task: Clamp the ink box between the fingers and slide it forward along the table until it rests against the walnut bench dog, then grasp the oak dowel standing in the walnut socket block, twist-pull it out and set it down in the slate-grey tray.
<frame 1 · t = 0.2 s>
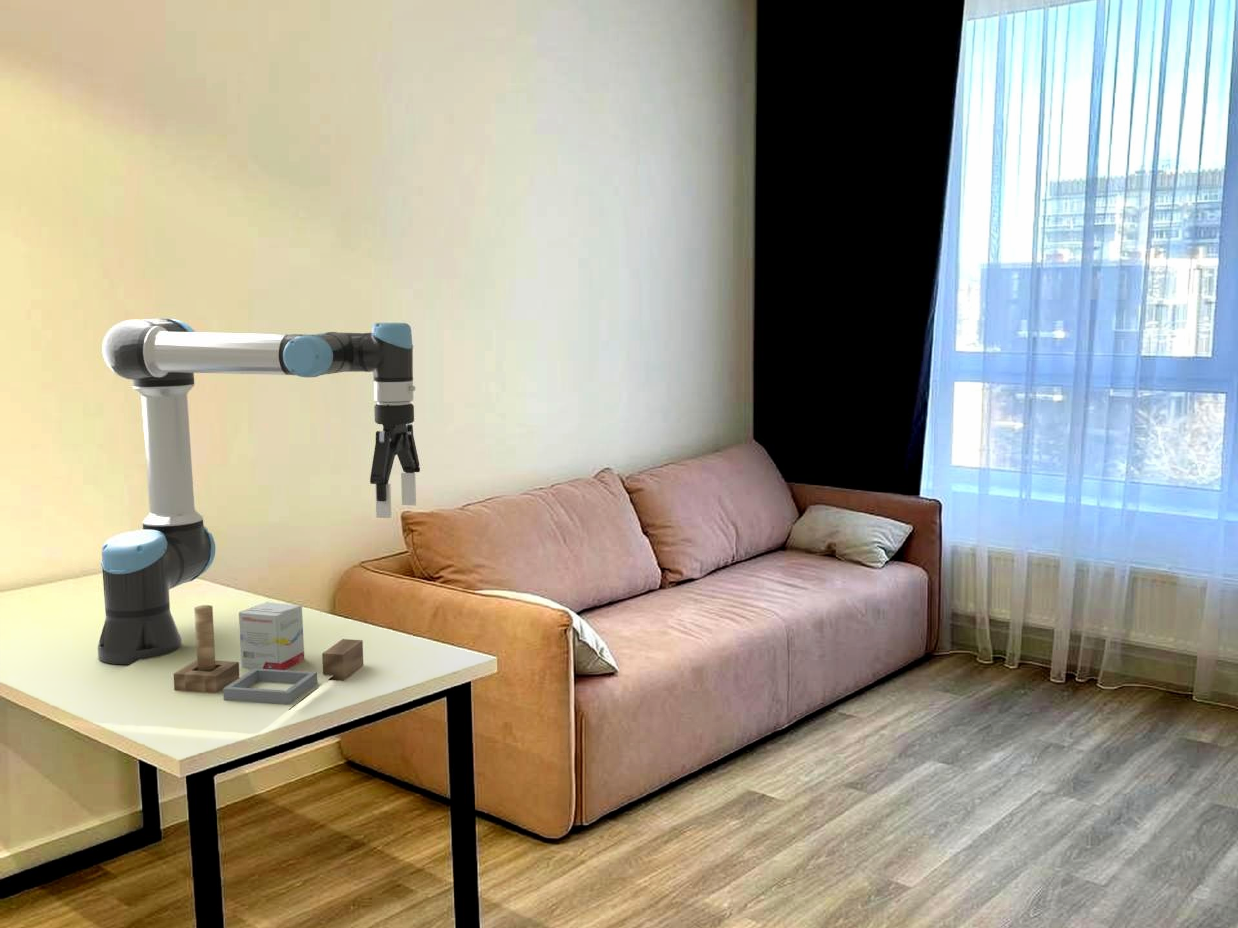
hand: (396, 511, 226), 28 cm above the table, fingers open, 13 cm apart
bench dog: (343, 672, 214), on the table
ink box: (273, 669, 217), on the table
dowel: (207, 683, 205), point 1 cm above the table, touching socket block
socket block: (207, 689, 205), on the table
tray: (271, 696, 201), on the table
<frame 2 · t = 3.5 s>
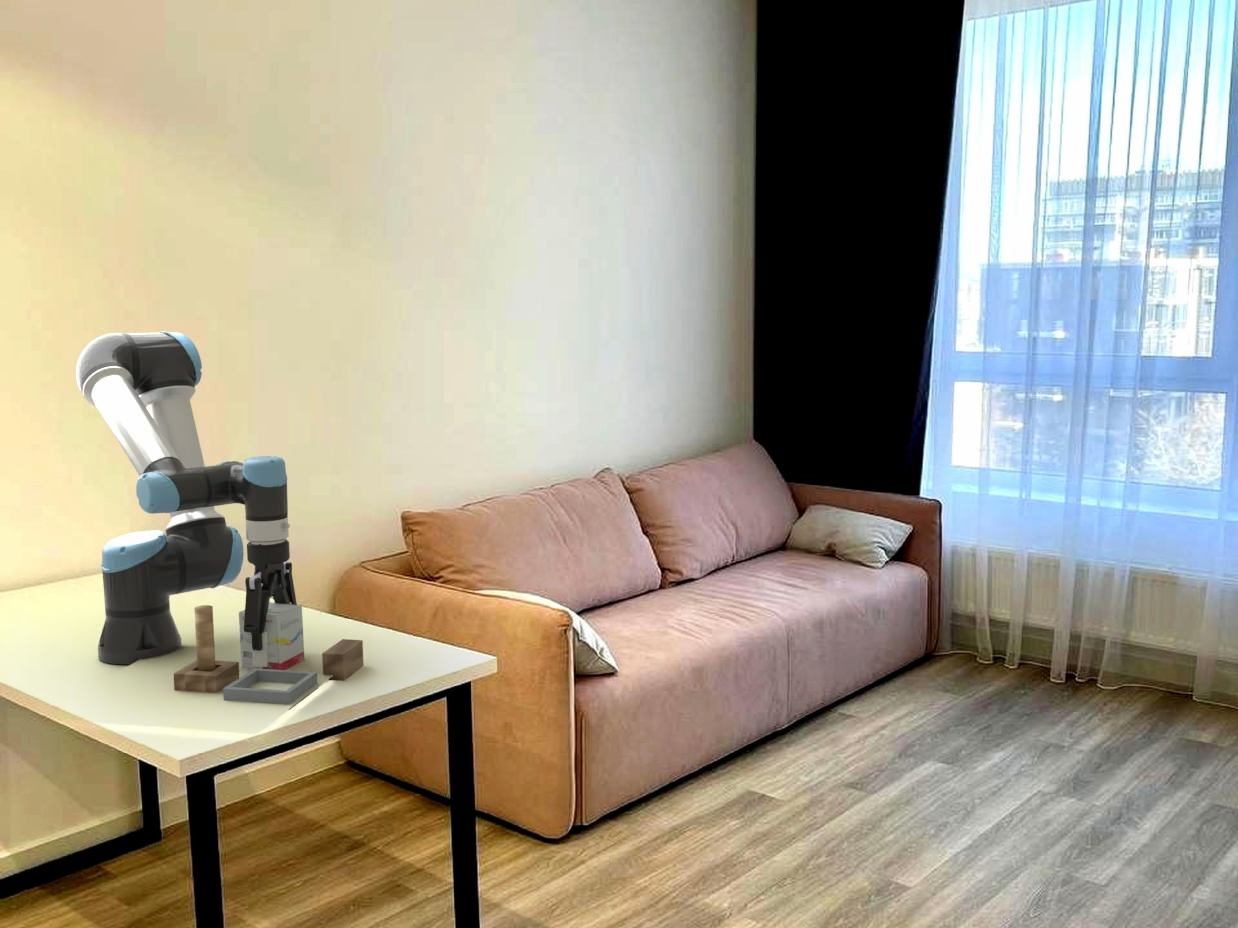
hand: (273, 657, 216), 2 cm above the table, fingers closed on ink box, 9 cm apart
ink box: (273, 669, 217), on the table, touching gripper
everything else where it was.
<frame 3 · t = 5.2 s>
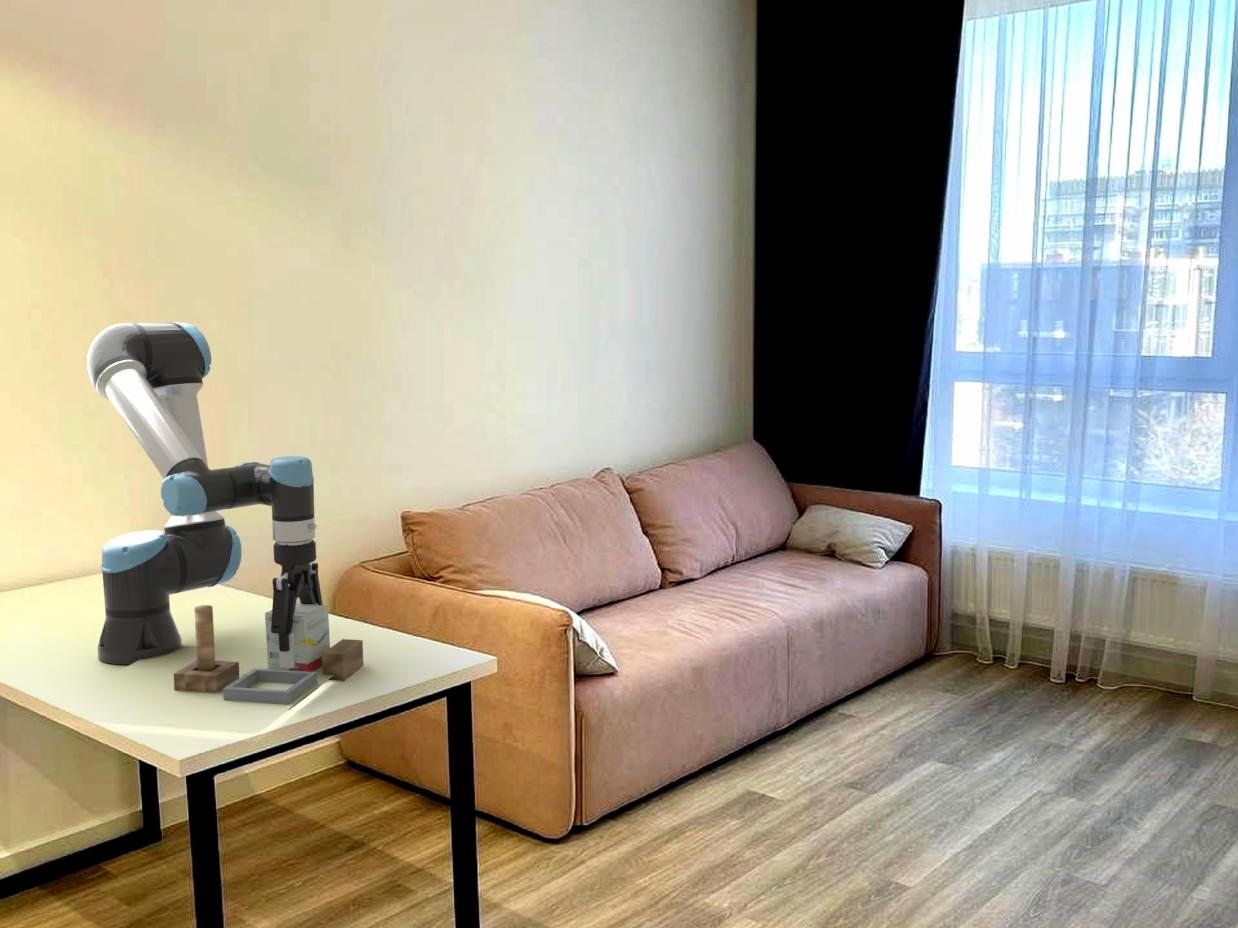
hand: (299, 659, 215), 2 cm above the table, fingers closed on ink box, 9 cm apart
ink box: (299, 670, 215), on the table, touching gripper
everything else where it was.
when the fingers open (2 cm above the table, at t = 6.8 s): ink box stays where it is, on the table.
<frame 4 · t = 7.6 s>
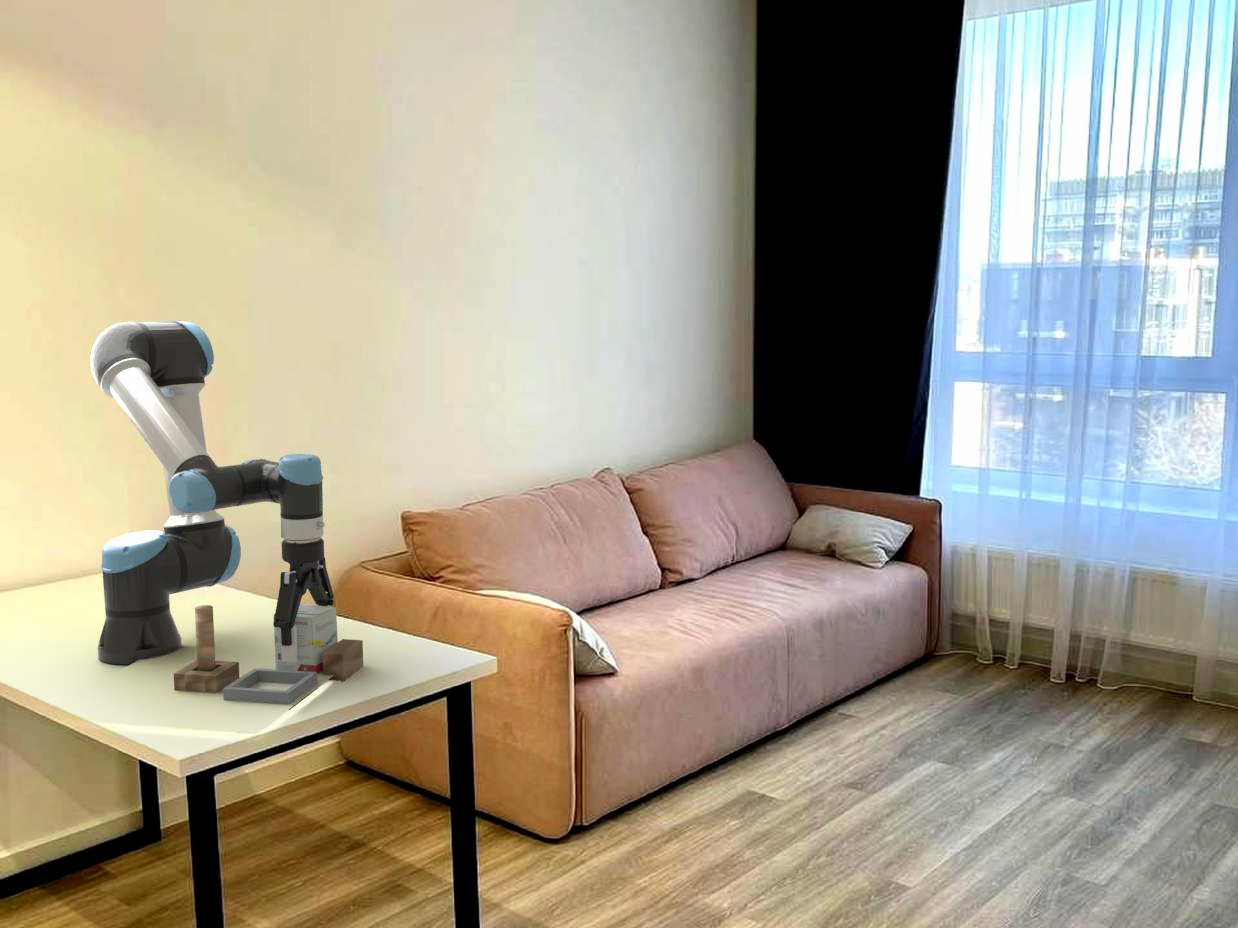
hand: (306, 650, 215), 4 cm above the table, fingers open, 13 cm apart
ink box: (307, 671, 215), on the table
everything else where it was.
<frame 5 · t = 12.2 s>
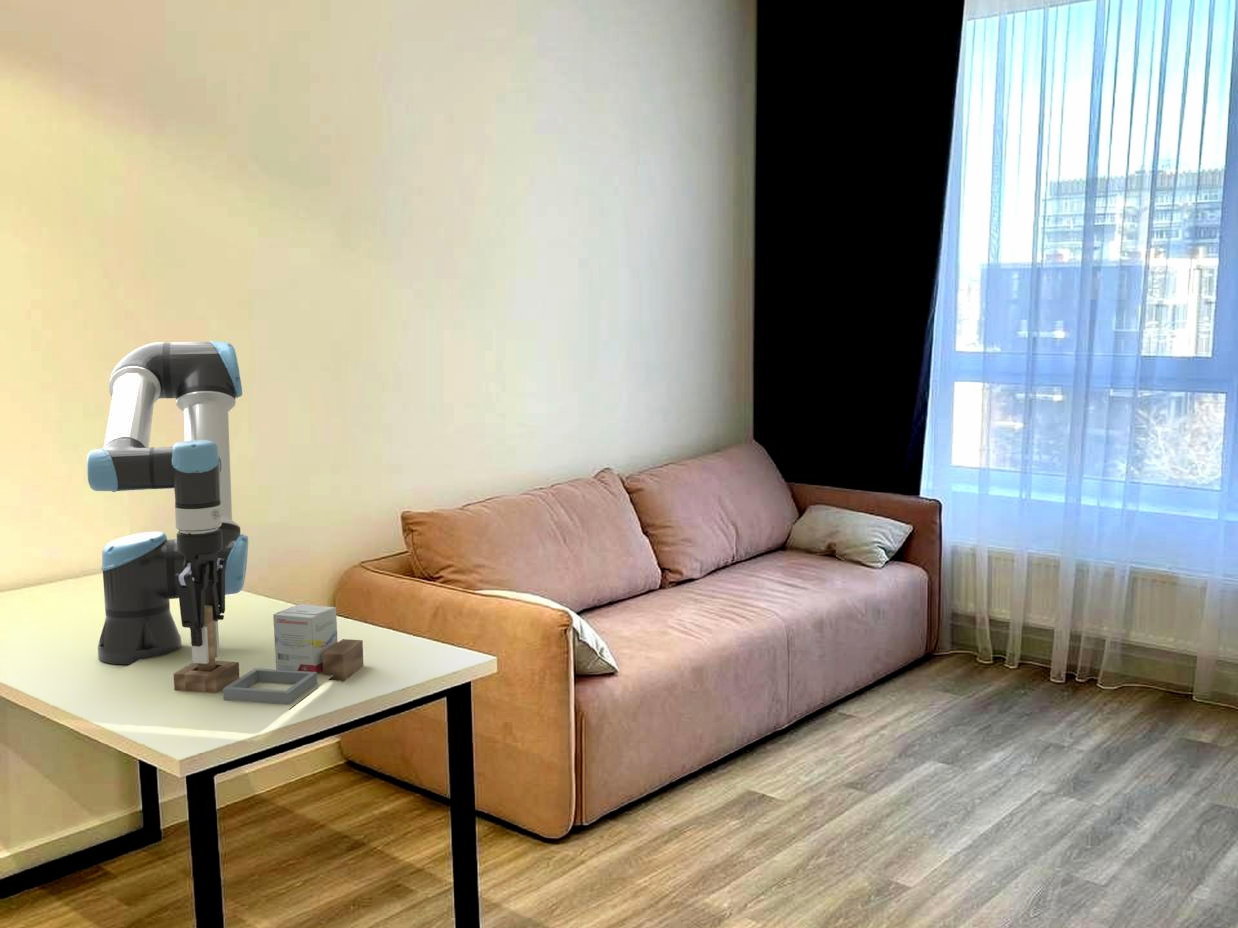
hand: (206, 659, 204), 6 cm above the table, fingers closed on dowel, 3 cm apart
dowel: (207, 683, 205), point 1 cm above the table, touching gripper
everything else where it was.
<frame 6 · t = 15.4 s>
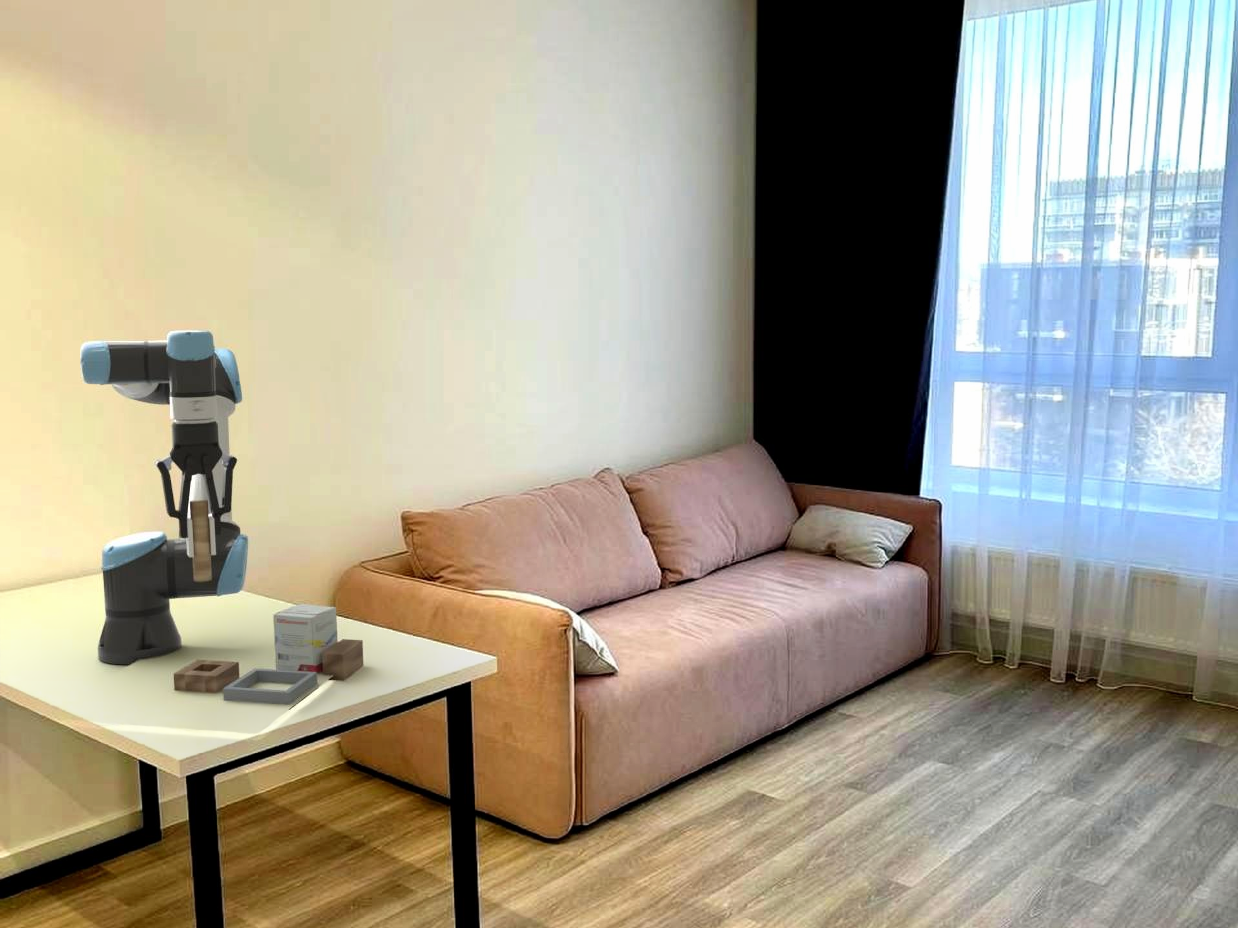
hand: (201, 554, 201), 25 cm above the table, fingers closed on dowel, 3 cm apart
dowel: (202, 579, 202), point 20 cm above the table, touching gripper
everything else where it was.
when the fingers open (7 cm above the table, at t = 19.1 s): dowel stays where it is, resting on tray.
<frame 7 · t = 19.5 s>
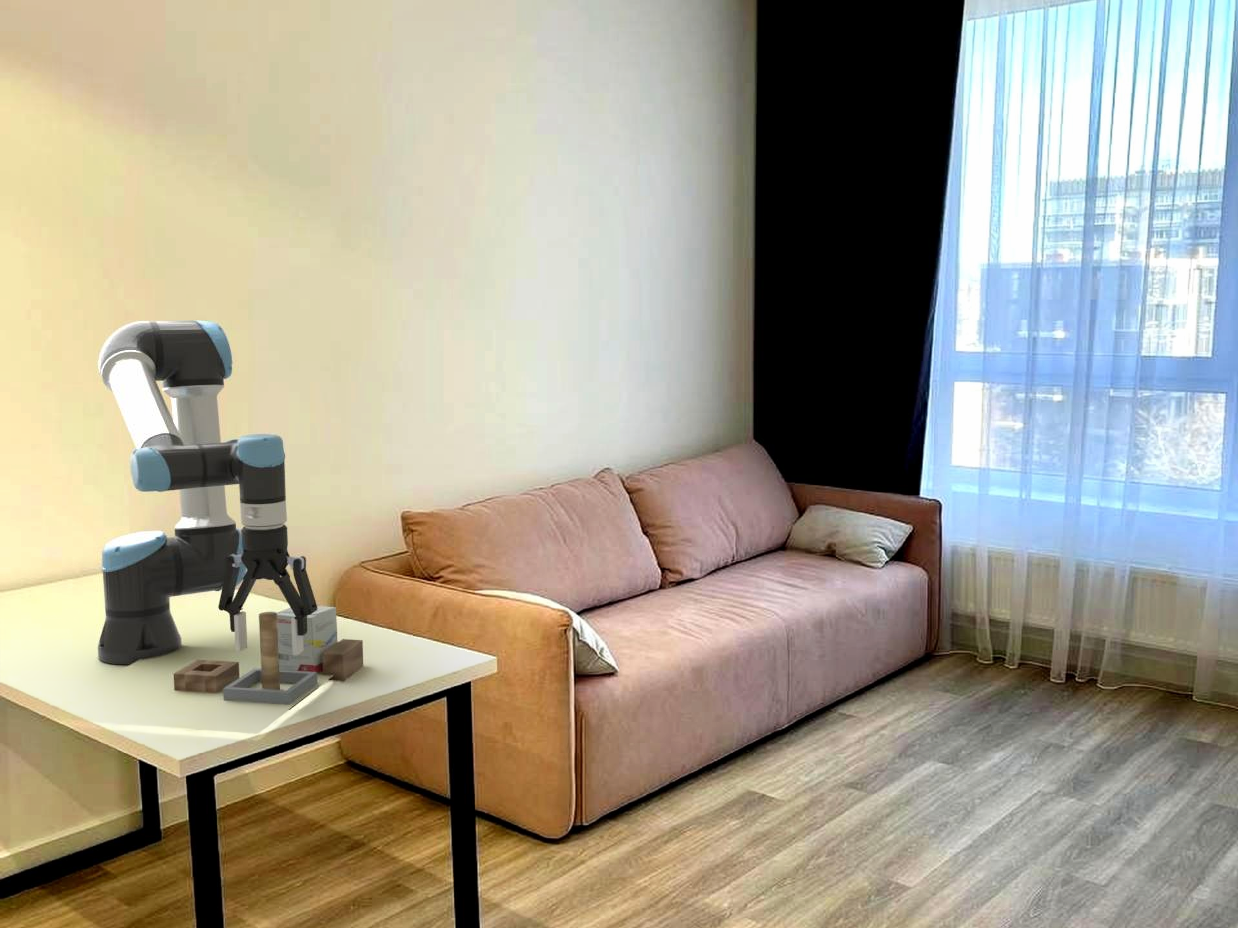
hand: (269, 651, 200), 8 cm above the table, fingers open, 10 cm apart
dowel: (271, 692, 201), point 1 cm above the table, touching tray
everything else where it was.
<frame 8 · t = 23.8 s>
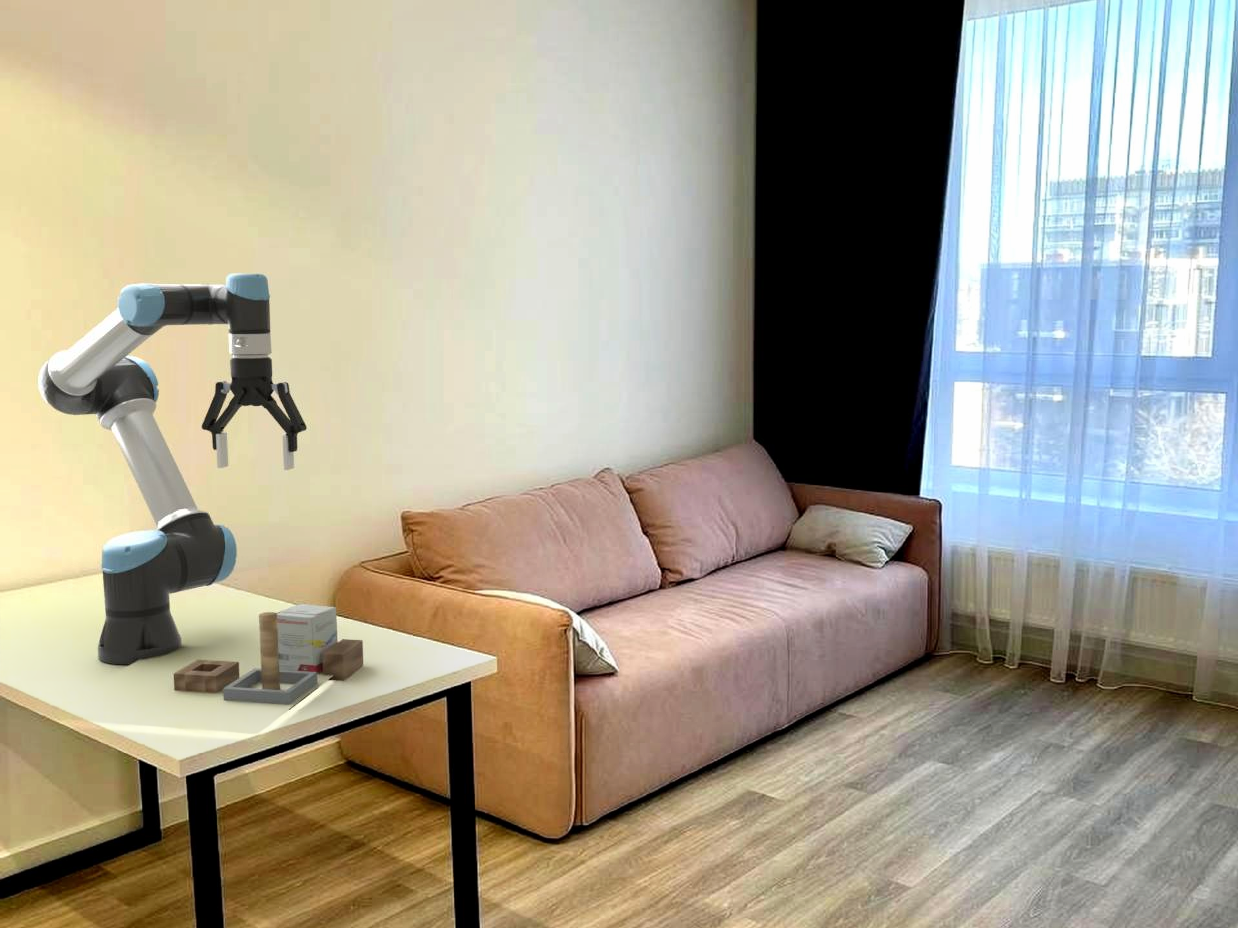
hand: (255, 468, 220), 37 cm above the table, fingers open, 13 cm apart
nothing on the table moved.
at the end: ink box inside the target area (1.1 cm from its centre), on the table; ink box tilted 0°; dowel inside the target area on the tray (0.0 cm from its centre), point 0.8 cm above the tray's base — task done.
